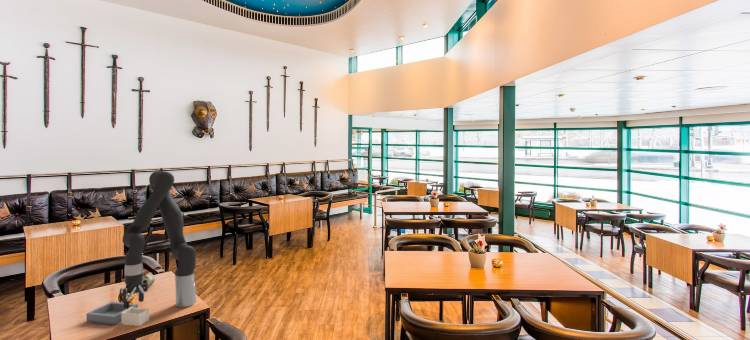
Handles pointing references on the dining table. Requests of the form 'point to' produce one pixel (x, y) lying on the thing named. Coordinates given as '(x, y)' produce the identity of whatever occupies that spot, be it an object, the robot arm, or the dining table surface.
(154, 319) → the dining table surface
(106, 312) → the tray
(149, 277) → the ceramic sculpture
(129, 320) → the cream crate
